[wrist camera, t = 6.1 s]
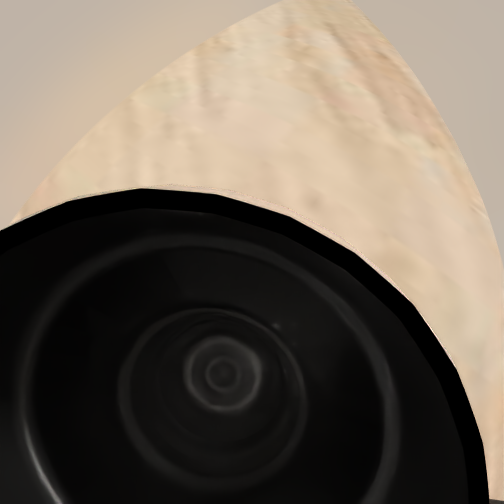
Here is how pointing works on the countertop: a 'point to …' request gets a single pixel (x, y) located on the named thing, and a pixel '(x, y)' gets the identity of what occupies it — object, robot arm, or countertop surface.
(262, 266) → the plastic bottle
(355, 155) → the countertop surface
